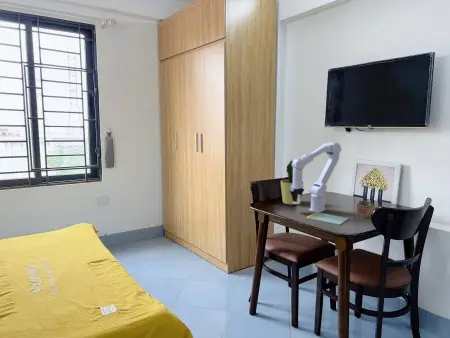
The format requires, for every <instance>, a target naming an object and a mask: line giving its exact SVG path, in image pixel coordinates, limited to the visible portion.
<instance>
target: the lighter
mask: <svg viewBox="0 0 450 338" xmlns="http://www.w3.org/2000/svg"><path fill="white" fill-rule="evenodd" d="M370 204H371V201H366V200H365V199H364V200H358V203H356V214H355V217H357V218H361V219H366V220H367V219H368V220H369V219H371V208H372V205H370Z"/></svg>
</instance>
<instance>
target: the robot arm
mask: <svg viewBox="0 0 450 338" xmlns="http://www.w3.org/2000/svg"><path fill="white" fill-rule="evenodd" d="M341 152H342V146H341V144H340V143H339V142H329V141H325V143H322V145H321V146H319V147H318V148H316V149H314V151H312V152H305V153H304V154H303V155H302V156H299V157H298V158H295V159H292V160H293V162H292V164H291V165H292V167H293V185H291V188H290V193H291V195H292V199H293V202H297V196H298V195H301V198H300V200H301V199H302V197H303V193H304V191H305V184H304V183H303V184H302V181H303V173H304V171H303V170H304V169H305V166H307V165H308V164H310V163H311V162H313V161H314V160H315V159H314V158H316V157H319V156H320V155H322V154H324V153H325V154H326V155H327V156H328V160H327V162H326V164H325V165H324V167H323V169H322V172H321V174H320V175H319V177H318V179H317V180H316V181H314V182H313V184H312V185H311V186H310V187H309V189H308V191H309V193H310V208H309V209H308V211H310V212H313V213H315V212H319V213H322V212H324V211H326V208H325V206H326V205H325V204H326V199H325V196H326V193H327V189H328V187H327V183H328V182H329V181H328V180H330V178H331V176H332V173H333V171H334V169H335V168H336V166H337V164H338V161H339V159H340V155H341V154H340V153H341Z"/></svg>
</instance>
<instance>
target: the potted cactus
mask: <svg viewBox="0 0 450 338" xmlns="http://www.w3.org/2000/svg"><path fill="white" fill-rule="evenodd" d="M293 160H294V159H291V160H290V161H289V162H288V163H287V165H286V171H285V172H286V174H287V178H288V179H281V180H280V188H281V197H282V202H283V204H286V205H295V204H294V203H293V199H292V195H291V193H290V188H291V185H293V167H292V165H291V164H292V162H293ZM302 184H303V185H304V181H303V180H302Z"/></svg>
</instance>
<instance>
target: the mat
mask: <svg viewBox="0 0 450 338" xmlns="http://www.w3.org/2000/svg"><path fill="white" fill-rule="evenodd" d="M305 218H306V219H308V220H314V221H319V222H323V223H328V224H333V225H336V226H341V225H343V224H344V223H346V222H347V221H348V220H349V218H348V217H343V216H339V215H332V214H327V213H322V212H313V213H311V214H309V215H307V216H306V217H305Z"/></svg>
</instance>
